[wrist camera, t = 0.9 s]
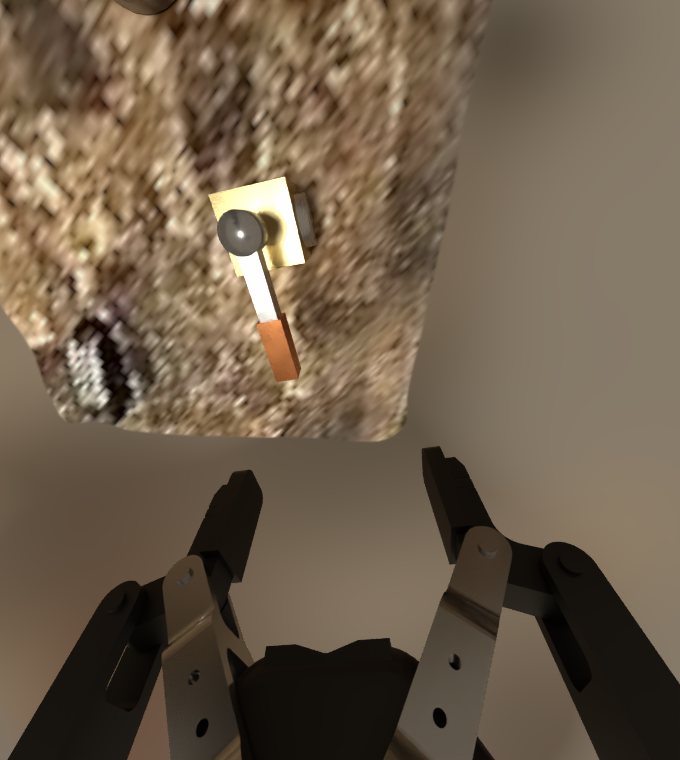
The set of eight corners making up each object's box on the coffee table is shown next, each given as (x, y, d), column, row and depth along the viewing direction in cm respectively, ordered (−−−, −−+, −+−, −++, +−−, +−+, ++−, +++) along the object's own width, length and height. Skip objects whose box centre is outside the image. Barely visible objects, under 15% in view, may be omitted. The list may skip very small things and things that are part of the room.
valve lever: (222, 214, 23) (210, 214, 20) (260, 205, 22) (252, 204, 20) (276, 371, 30) (271, 383, 28) (305, 366, 30) (303, 378, 27)
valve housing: (225, 201, 31) (180, 195, 22) (305, 182, 30) (290, 168, 21) (247, 267, 35) (215, 285, 26) (319, 252, 34) (311, 265, 25)
